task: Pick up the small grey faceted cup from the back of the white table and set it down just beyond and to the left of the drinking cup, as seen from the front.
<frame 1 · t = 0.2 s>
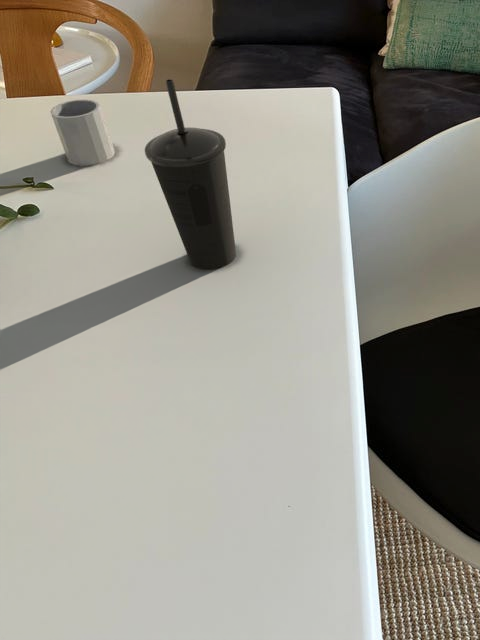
drinking cup: (214, 262, 86), on the table
grey faceted cup: (92, 159, 104), on the table
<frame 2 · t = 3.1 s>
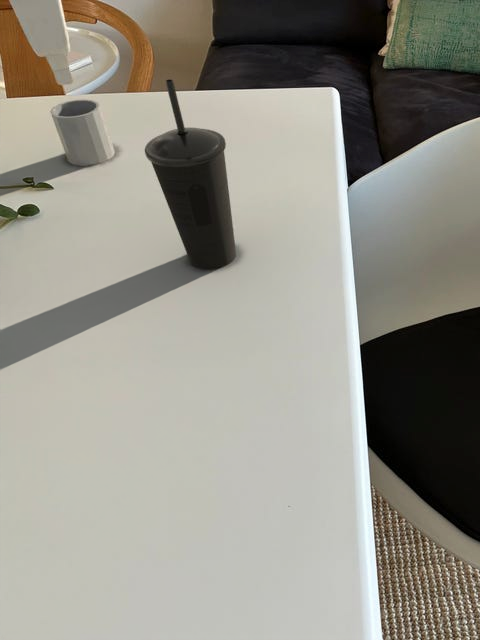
hand: (62, 69, 96), 12 cm above the table, tool pointing down, fingers open, 8 cm apart
nothing on the table moved.
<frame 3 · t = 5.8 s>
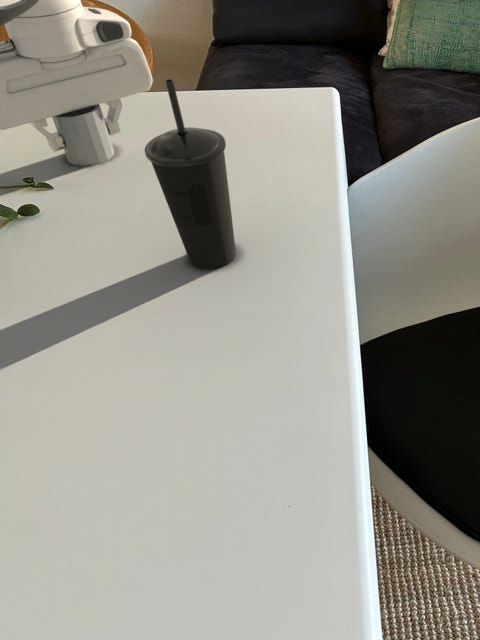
hand: (86, 140, 102), 3 cm above the table, tool pointing down, fingers closed on grey faceted cup, 6 cm apart
grey faceted cup: (92, 159, 104), on the table, touching gripper
everything else where it was.
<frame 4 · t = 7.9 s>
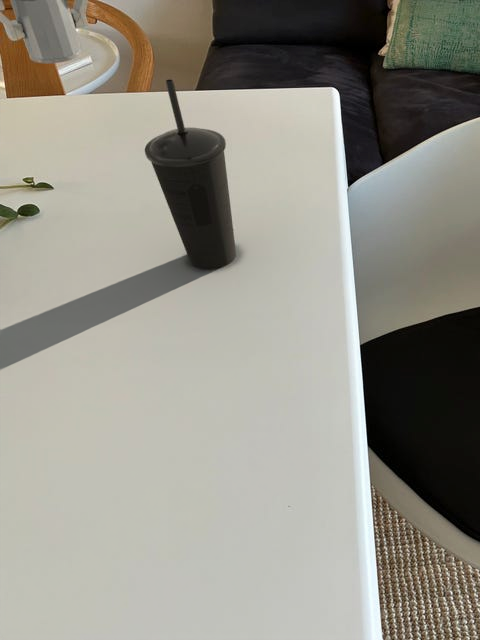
hand: (49, 32, 92), 17 cm above the table, tool pointing down, fingers closed on grey faceted cup, 6 cm apart
grey faceted cup: (56, 54, 94), point 14 cm above the table, touching gripper
everything else where it was.
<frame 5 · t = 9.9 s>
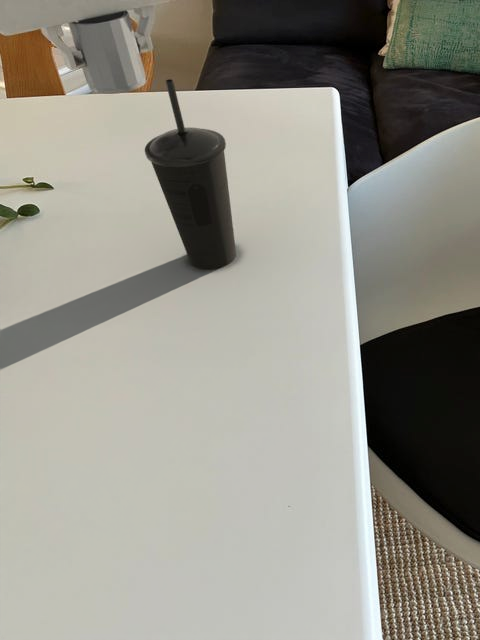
hand: (111, 58, 82), 18 cm above the table, tool pointing down, fingers closed on grey faceted cup, 6 cm apart
grey faceted cup: (118, 83, 83), point 16 cm above the table, touching gripper
everything else where it was.
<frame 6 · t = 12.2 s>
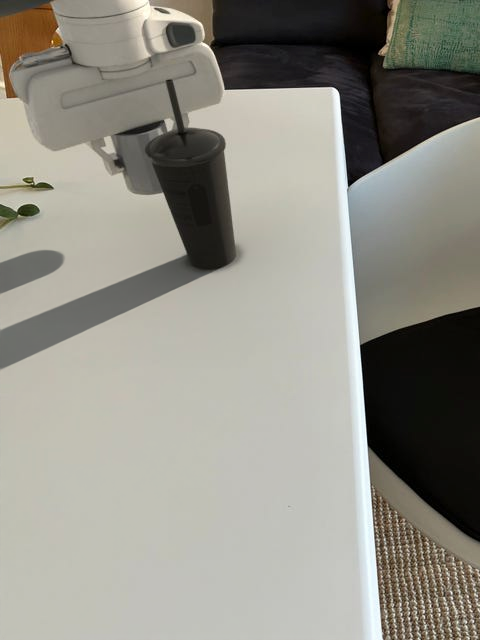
hand: (148, 161, 87), 7 cm above the table, tool pointing down, fingers closed on grey faceted cup, 6 cm apart
grey faceted cup: (153, 182, 89), point 5 cm above the table, touching gripper
everything else where it was.
when the fingers open (2 cm above the table, at t = 13.9 s): grey faceted cup stays where it is, on the table.
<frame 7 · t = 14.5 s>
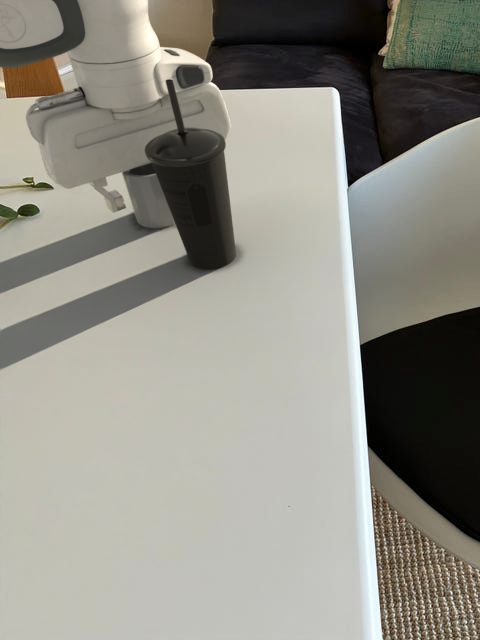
hand: (156, 195, 90), 3 cm above the table, tool pointing down, fingers open, 8 cm apart
grey faceted cup: (163, 219, 92), on the table
everything else where it was.
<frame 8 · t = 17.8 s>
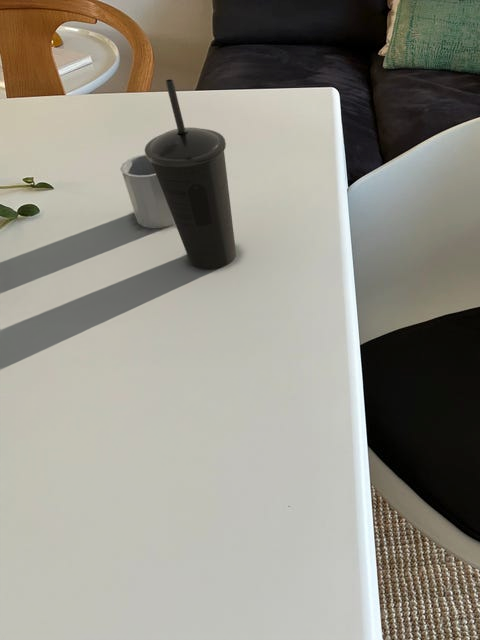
nothing on the table moved.
at the end: grey faceted cup inside the target area on the table beside the drinking cup (0.1 cm from its centre), on the table; grey faceted cup tilted 0°; the gripper is holding nothing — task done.
